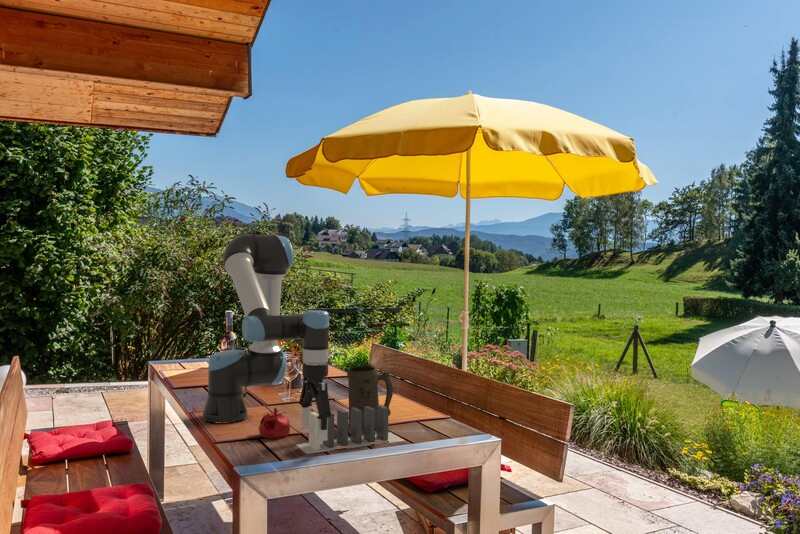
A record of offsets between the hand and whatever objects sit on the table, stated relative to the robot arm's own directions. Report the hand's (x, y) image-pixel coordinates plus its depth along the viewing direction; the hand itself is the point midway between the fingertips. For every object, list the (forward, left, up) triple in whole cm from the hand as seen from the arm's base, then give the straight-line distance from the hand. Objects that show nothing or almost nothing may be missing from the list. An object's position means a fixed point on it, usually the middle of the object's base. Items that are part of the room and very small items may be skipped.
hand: (314, 434), depth 184 cm
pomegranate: (-7, +17, -4) cm, 19 cm away
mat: (+12, 0, -4) cm, 13 cm away
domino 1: (0, 0, -4) cm, 4 cm away
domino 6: (+23, 0, -4) cm, 23 cm away
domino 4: (+14, 0, -4) cm, 14 cm away
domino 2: (+5, 0, -4) cm, 6 cm away
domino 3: (+9, 0, -4) cm, 10 cm away
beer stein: (+25, +15, -4) cm, 29 cm away
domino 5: (+18, 0, -4) cm, 18 cm away
